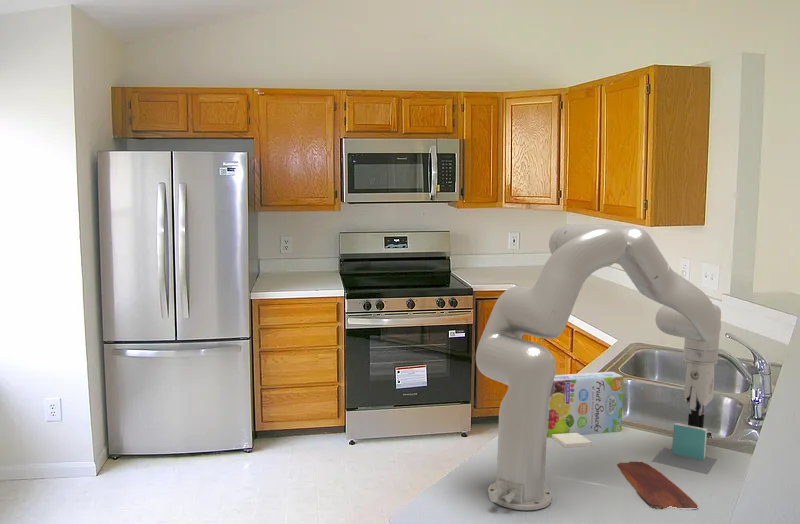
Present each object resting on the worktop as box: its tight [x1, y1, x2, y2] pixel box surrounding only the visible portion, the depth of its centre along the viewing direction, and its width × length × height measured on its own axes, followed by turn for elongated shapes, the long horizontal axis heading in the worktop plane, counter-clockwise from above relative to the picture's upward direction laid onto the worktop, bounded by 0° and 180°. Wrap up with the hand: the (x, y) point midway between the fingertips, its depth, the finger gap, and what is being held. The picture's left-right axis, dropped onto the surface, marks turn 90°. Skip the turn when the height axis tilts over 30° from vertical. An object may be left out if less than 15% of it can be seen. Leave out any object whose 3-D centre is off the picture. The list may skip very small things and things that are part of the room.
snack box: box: [547, 371, 625, 438], centre depth 181 cm, size 21×6×15 cm, turn 107°
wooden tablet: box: [616, 461, 699, 510], centre depth 152 cm, size 27×10×2 cm, turn 3°
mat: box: [651, 447, 718, 475], centre depth 164 cm, size 11×12×1 cm
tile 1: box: [551, 433, 593, 449], centre depth 174 cm, size 7×7×2 cm
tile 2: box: [671, 422, 708, 460], centre depth 166 cm, size 2×7×7 cm, turn 55°
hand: (695, 429), depth 171 cm, fingers closed
